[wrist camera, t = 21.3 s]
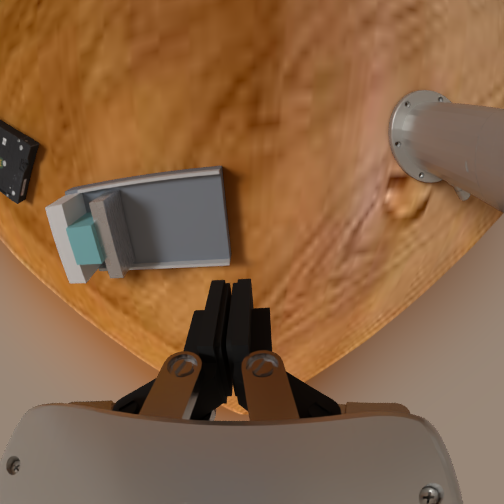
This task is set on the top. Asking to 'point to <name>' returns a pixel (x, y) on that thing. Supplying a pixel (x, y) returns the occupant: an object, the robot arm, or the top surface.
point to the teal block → (85, 241)
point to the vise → (154, 220)
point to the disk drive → (15, 162)
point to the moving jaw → (112, 233)
